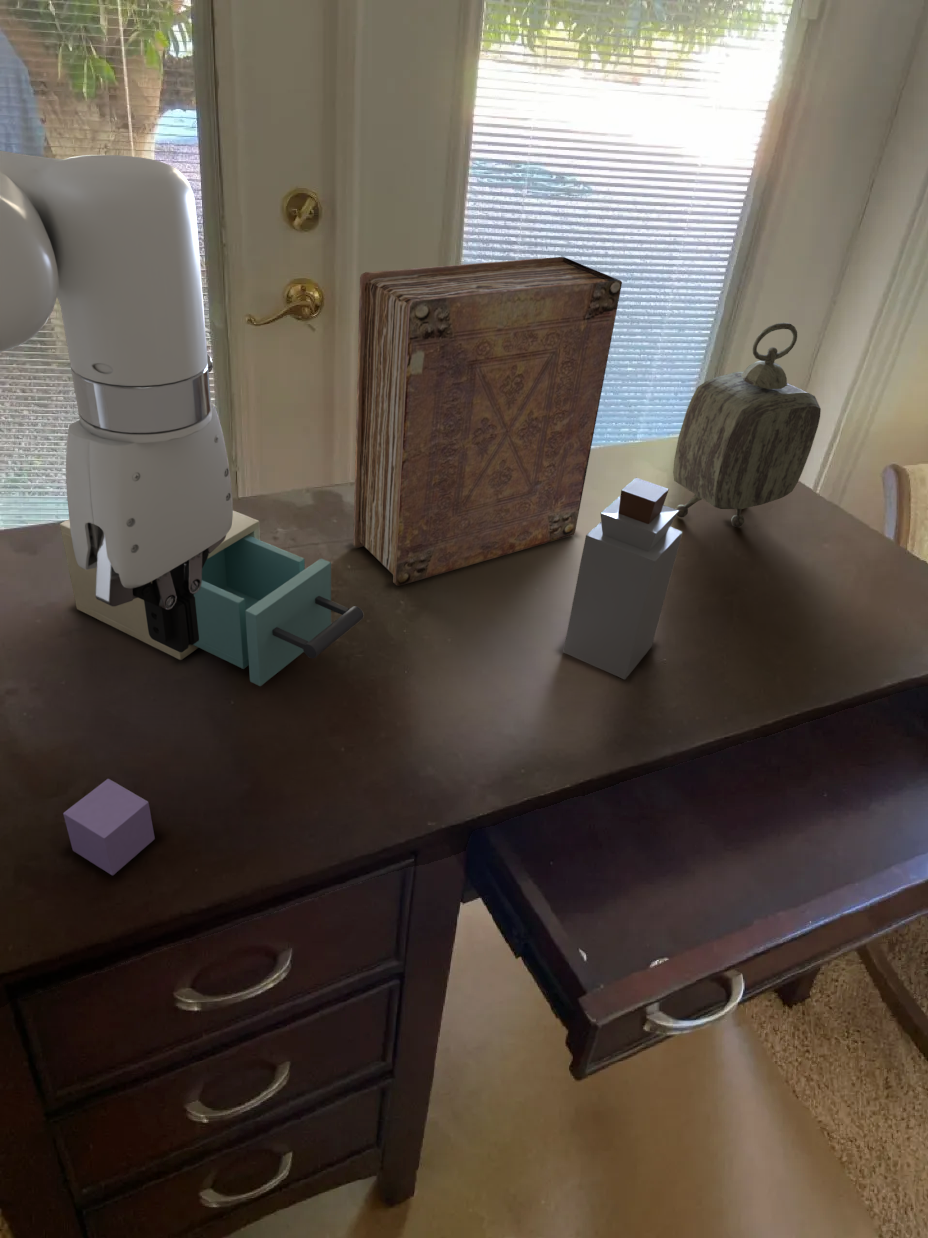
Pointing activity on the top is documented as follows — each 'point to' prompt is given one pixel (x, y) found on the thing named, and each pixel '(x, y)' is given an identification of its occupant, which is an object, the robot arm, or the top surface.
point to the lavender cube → (109, 826)
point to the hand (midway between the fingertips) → (174, 639)
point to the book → (476, 408)
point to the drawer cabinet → (133, 612)
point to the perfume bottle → (623, 580)
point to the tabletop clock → (746, 435)
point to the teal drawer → (267, 608)
